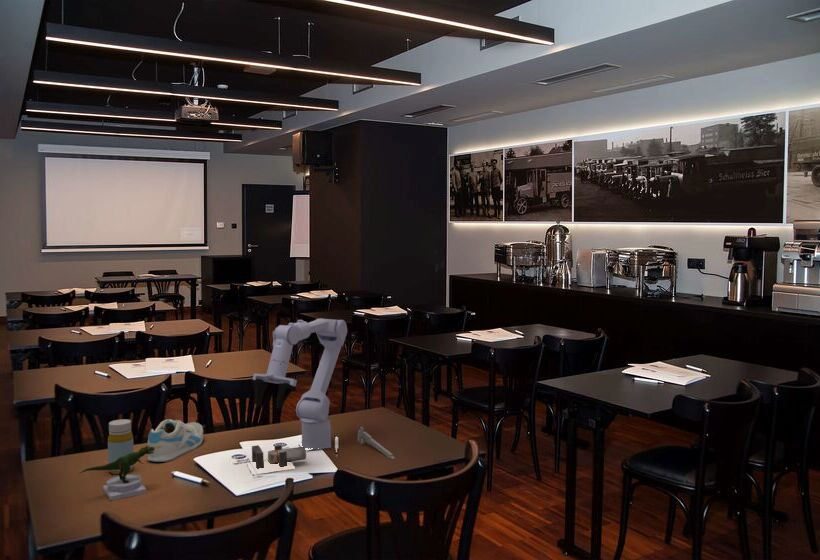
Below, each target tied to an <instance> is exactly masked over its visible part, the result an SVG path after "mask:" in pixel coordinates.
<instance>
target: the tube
mask: <svg viewBox="0 0 820 560" xmlns="http://www.w3.org/2000/svg"><path fill="white" fill-rule="evenodd" d="M283 451H286V452H287V462H292V463H293V462H299V461H305V460H306V459H307V451H306V450H305V447H300V446H297V447H289V448H282V449H281V450H275V449H274V450H269V451H268V452H267V460H268V462H269V463H270V464H278V463H279V452H283Z"/></svg>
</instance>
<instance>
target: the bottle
mask: <svg viewBox="0 0 820 560" xmlns="http://www.w3.org/2000/svg"><path fill="white" fill-rule="evenodd" d="M108 433H109V434H108V437H107V457H108V458H107V459H108V464H109V463H112V462H114V461H116V460H117V459H118V458H120V457H123V456H126V455H127V454H129V453H133V452H134V449H135V447H134V435H133V432H132V420H131V419H126V418H125V419H124V418H123V419H121V418H120V419H116V420H115V419H114V420H112V421H109V422H108ZM134 468H135V464H134V465H131V466H130V471H129V473H131V472H132V471H133V470H134ZM108 472H109V473H111V474H112V475H119V473H120V470H108ZM123 473H124V472H123ZM123 473H122V475H123Z"/></svg>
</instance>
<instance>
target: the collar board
mask: <svg viewBox="0 0 820 560" xmlns="http://www.w3.org/2000/svg"><path fill="white" fill-rule="evenodd" d="M281 449H283V445H282V444H279V445H278V444H277V445H274V450H281ZM264 461H265V460H264V452H263V450H262V448H261V447H260V445H259V444H258V445H251V462H256V468H257V469H259V468H264ZM279 466H280V467H284V466H287V452H286V451H283V452H279Z"/></svg>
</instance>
